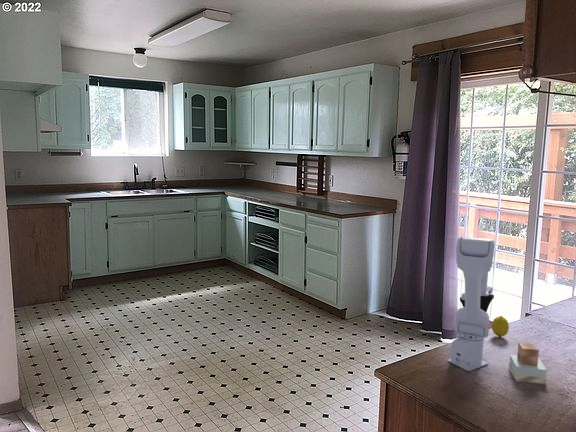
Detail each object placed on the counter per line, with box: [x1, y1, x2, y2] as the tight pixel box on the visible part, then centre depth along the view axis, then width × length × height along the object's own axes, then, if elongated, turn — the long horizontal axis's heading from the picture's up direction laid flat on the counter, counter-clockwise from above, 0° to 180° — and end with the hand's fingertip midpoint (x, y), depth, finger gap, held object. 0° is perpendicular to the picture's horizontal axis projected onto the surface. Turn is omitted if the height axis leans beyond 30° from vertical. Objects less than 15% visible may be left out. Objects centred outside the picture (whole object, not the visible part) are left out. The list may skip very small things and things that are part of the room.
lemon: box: [491, 315, 510, 338], centre depth 168 cm, size 6×6×8 cm
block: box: [517, 341, 540, 366], centre depth 139 cm, size 4×4×5 cm
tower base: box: [508, 362, 547, 385], centre depth 140 cm, size 8×8×2 cm
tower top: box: [509, 354, 547, 379], centre depth 140 cm, size 8×8×2 cm
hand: (475, 316), depth 160 cm, fingers open, 7 cm apart
